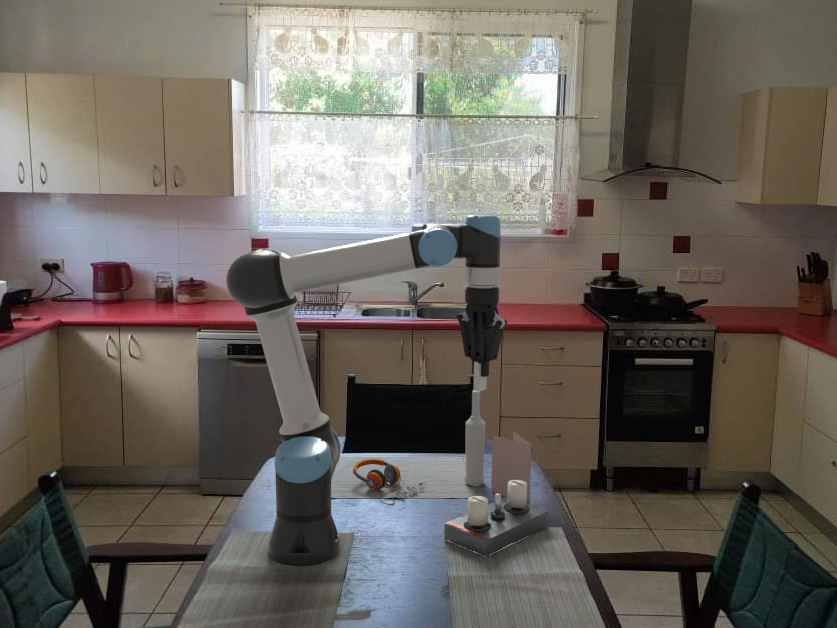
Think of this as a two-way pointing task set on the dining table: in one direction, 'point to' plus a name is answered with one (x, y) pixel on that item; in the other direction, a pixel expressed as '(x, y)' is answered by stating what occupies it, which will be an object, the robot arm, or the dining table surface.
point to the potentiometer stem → (497, 509)
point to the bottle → (475, 444)
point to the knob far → (517, 493)
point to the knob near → (477, 510)
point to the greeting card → (510, 463)
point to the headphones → (380, 476)
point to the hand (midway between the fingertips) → (480, 389)
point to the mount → (497, 528)
